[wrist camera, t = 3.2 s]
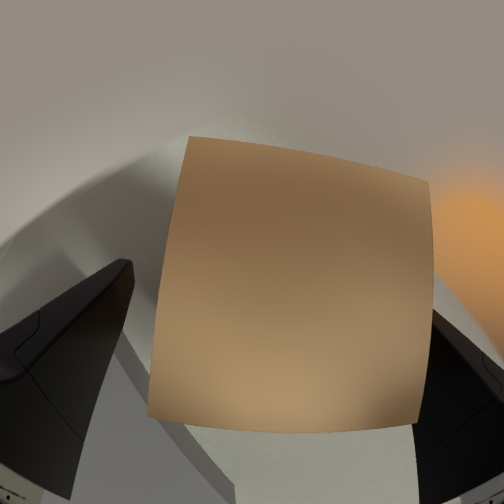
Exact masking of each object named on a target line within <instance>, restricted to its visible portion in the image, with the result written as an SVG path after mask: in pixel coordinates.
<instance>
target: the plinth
mask: <svg viewBox="0 0 504 504" xmlns="http://www.w3.org/2000/svg"><path fill="white" fill-rule="evenodd" d="M149 379H150V376H149V374H148V372H147V371H146V369H145V368H144V366H143V364H142V363H141V361H140V360H139V358H138V356H137V355H136V353H135V351H134V350H133V348H132V346H131V345H130V343H129V341H128V339H127V338H126V336H125V334H124V332H123V331H122V332H121V334H120V337H119V339H118V342H117V345H116V347H115V350H114V353H113V355H112V358H111V361H110V364H109V367H108V369H107V372H106V375H105V378H104V381H103V384H102V387H101V390H100V393H99V396H98V399H97V402H96V405H95V408H94V411H93V415H92V418H91V421H90V425H89V428H88V431H87V435H86V438H85V442H83V443H84V446H83V450H82V453H81V457H80V461H79V465H78V469H77V473H76V477H75V482H74V486H73V491H72V495H71V499H70V501H69V500H66V499H64V498H62V497H59V496H57V495H55V494H53V493H51V492H48V491H46V490H44V493H43V497H42V501H41V504H236V501H235V489H234V484H233V483H232V482H231V481H230V480H229V479H228V478H227V477H226V476H225V475H224V473H223V472H222V471H221V470H220V469H219V468H218V467H217V465H216V464H215V463H214V462H213V461H212V460H211V458H210V457H209V456H208V455H207V454H206V452H205V451H204V450H203V449H202V448H201V446H200V445H199V444H198V443H197V441H196V440H195V439H194V437H193V436H192V435H191V434H190V432H189V431H188V430H187V428H186V427H185V426H184V424H182V423H176V422H170V421H164V420H159V419H154V418H149V417H147V411H148V393H149Z"/></svg>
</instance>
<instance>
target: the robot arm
mask: <svg viewBox="0 0 504 504" xmlns="http://www.w3.org/2000/svg"><path fill="white" fill-rule="evenodd" d="M134 285H135V279H134V271H133V263H132V261H131V260H128V259H122V258H120V259H117V260H116V261H114V262H112V263H111V264H109V265H107V266H106V267H104V268H102V269H101V270H99V271H98V272H96V273H94V274H93V275H91V276H89V277H88V278H86V279H85V280H83V281H81V282H80V283H78V284H77V285H75V286H74V287H72V288H70V289H69V290H67V291H66V292H64V293H63V294H61V295H60V296H58V297H56V298H55V299H53V300H52V301H50V302H49V303H47V304H46V305H44V306H43V307H41V308H40V310H37V311H35V312H34V313H32V314H31V315H29V316H28V317H26V318H25V319H23V320H22V321H20V322H19V323H17V324H15V325H14V326H12V327H10V328H9V329H7V330H5V331H4V332H2V333H0V504H41V501H42V497H43V493H44V490H46V491H48V492H51V493H53V494H55V495H57V496H59V497H62V498H64V499H66V500H69V501H70V499H71V495H72V491H73V486H74V482H75V477H76V473H77V469H78V465H79V461H80V457H81V453H82V450H83V446H84V443H83V442H85V438H86V435H87V431H88V428H89V425H90V421H91V418H92V415H93V411H94V408H95V405H96V402H97V399H98V396H99V393H100V390H101V387H102V384H103V381H104V378H105V375H106V372H107V369H108V367H109V364H110V361H111V358H112V355H113V353H114V350H115V347H116V345H117V342H118V339H119V337H120V334H121V332H122V329H123V326H124V322H125V318H126V315H127V311H128V307H129V304H130V300H131V296H132V293H133V290H134ZM412 429H413V436H414V444H415V453H416V463H417V474H418V487H419V504H443V503H445V502H448V501H450V500H452V499H455V498H457V497H459V496H460V500H461V504H504V370H503V369H502V368H501V367H500V366H498V365H497V364H496V363H495V362H494V361H493V360H492V359H490V358H489V357H488V356H487V355H486V354H485V353H484V352H483V351H481V350H480V349H479V348H478V347H477V346H476V345H475V344H474V343H473V342H471V341H470V340H469V339H468V338H467V337H466V336H465V335H463V334H462V333H461V332H460V331H459V330H458V329H457V328H455V327H454V326H453V325H452V324H451V323H449V322H448V321H447V320H446V319H445V318H444V317H442V316H441V315H440V314H439V313H438V312H436V311H435V310H434V309H433V311H432V326H431V338H430V348H429V357H428V365H427V372H426V379H425V385H424V391H423V397H422V402H421V407H420V412H419V417H418V421H417V423H414V424H412Z"/></svg>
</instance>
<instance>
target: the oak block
mask: <svg viewBox="0 0 504 504" xmlns="http://www.w3.org/2000/svg"><path fill="white" fill-rule="evenodd" d="M430 205H431V204H430V195H429V185H428V182H427V181H424V180H420V179H417V178H414V177H410V176H407V175H403V174H399V173H396V172H392V171H388V170H385V169H381V168H377V167H373V166H369V165H365V164H361V163H356V162H352V161H348V160H343V159H338V158H334V157H329V156H324V155H320V154H314V153H309V152H304V151H298V150H293V149H287V148H281V147H275V146H268V145H262V144H255V143H247V142H240V141H232V140H223V139H214V138H204V137H193V136H189V140H188V144H187V148H186V152H185V156H184V160H183V164H182V169H181V173H180V178H179V182H178V187H177V192H176V196H175V201H174V206H173V211H172V216H171V221H170V227H169V232H168V238H167V243H166V249H165V255H164V261H163V268H162V274H161V281H160V288H159V295H158V302H157V310H156V318H155V326H154V335H153V345H152V355H151V366H150V379H149V393H148V411H147V417H149V418H154V419H159V420H164V421H170V422H176V423H182V424H188V425H195V426H202V427H210V428H218V429H228V430H239V431H253V432H273V433H324V432H345V431H358V430H369V429H378V428H387V427H394V426H401V425H408V424H414V423H417V421H418V417H419V412H420V407H421V402H422V397H423V391H424V385H425V379H426V372H427V365H428V357H429V348H430V338H431V326H432V311H433V283H434V261H433V260H434V259H433V233H432V232H433V231H432V216H431V206H430Z"/></svg>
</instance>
